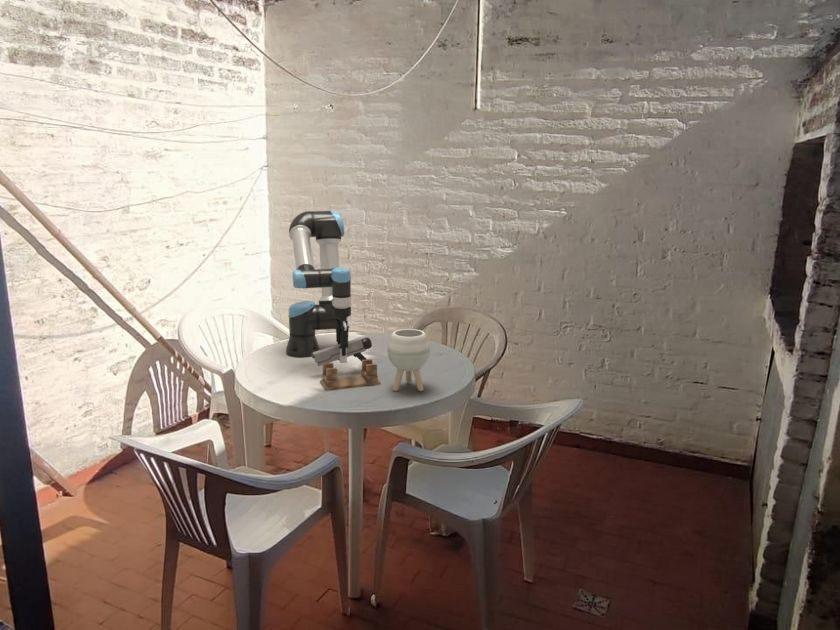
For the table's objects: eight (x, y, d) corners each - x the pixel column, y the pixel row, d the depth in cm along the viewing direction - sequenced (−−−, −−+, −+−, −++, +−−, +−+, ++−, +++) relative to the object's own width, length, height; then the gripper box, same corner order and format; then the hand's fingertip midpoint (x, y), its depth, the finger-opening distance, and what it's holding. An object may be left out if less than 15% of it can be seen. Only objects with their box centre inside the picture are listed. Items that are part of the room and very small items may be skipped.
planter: (434, 393, 243) (435, 336, 238) (393, 397, 238) (393, 339, 233) (422, 380, 258) (422, 326, 253) (383, 383, 253) (383, 329, 248)
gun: (375, 357, 267) (370, 335, 264) (318, 376, 260) (311, 354, 257) (373, 355, 269) (368, 334, 266) (316, 374, 262) (310, 352, 259)
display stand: (325, 390, 245) (324, 370, 243) (320, 382, 254) (319, 363, 252) (380, 384, 252) (380, 365, 250) (373, 376, 261) (373, 357, 259)
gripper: (328, 302, 263) (329, 356, 269) (336, 311, 249) (337, 368, 255) (346, 301, 266) (346, 354, 272) (355, 310, 252) (356, 366, 258)
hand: (342, 361), depth 263 cm, fingers closed on gun, 2 cm apart
